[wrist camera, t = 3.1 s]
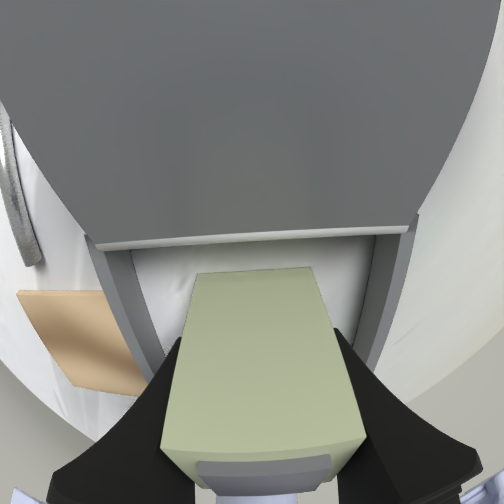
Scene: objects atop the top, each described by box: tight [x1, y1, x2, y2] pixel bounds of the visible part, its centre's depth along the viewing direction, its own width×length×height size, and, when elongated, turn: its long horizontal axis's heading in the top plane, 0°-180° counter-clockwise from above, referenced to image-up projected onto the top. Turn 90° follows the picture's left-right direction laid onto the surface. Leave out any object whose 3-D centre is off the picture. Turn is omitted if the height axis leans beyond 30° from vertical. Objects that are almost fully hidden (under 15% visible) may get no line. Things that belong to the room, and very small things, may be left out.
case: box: [84, 213, 419, 384], centre depth 11 cm, size 10×11×2 cm
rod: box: [0, 100, 42, 267], centre depth 8 cm, size 8×1×1 cm, turn 3°
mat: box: [16, 290, 148, 397], centre depth 13 cm, size 8×8×1 cm
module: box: [160, 267, 367, 496], centre depth 9 cm, size 4×4×7 cm
